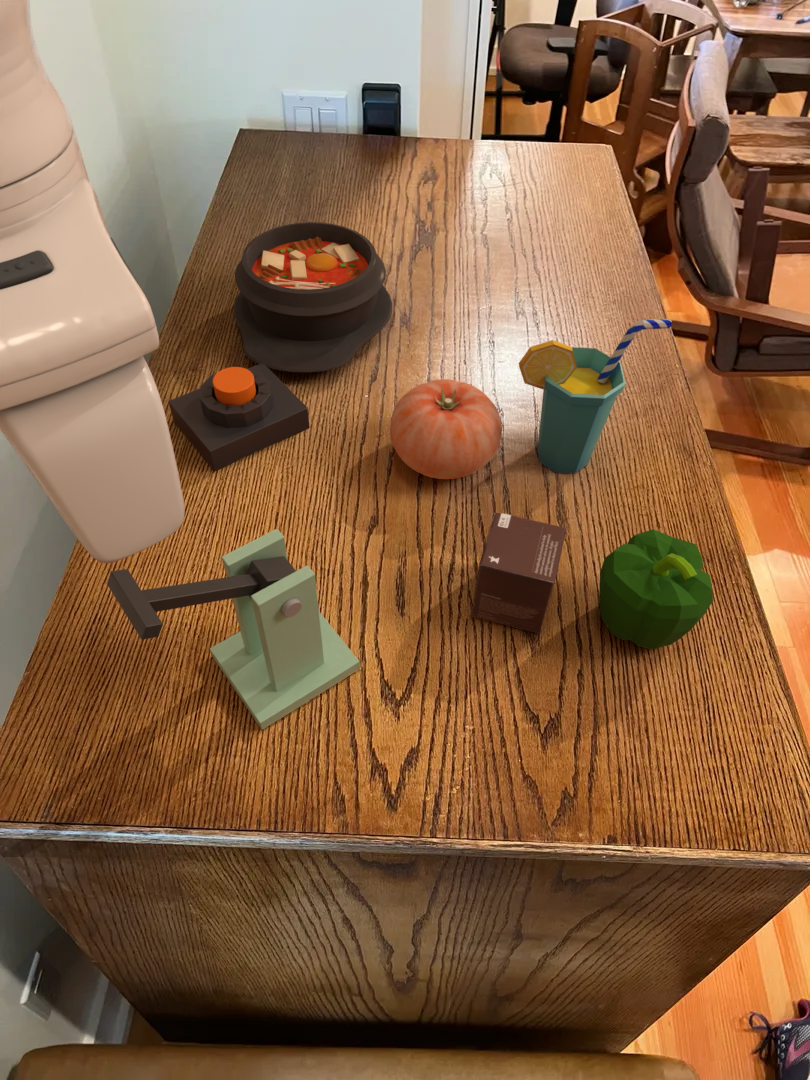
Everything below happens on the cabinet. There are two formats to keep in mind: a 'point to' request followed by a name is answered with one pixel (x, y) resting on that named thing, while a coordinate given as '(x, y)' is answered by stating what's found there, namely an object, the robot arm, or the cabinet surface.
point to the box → (517, 571)
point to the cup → (576, 395)
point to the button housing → (239, 419)
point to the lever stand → (280, 639)
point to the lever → (190, 592)
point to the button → (234, 386)
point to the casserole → (309, 296)
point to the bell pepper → (653, 589)
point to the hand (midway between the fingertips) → (86, 489)
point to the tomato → (445, 429)
